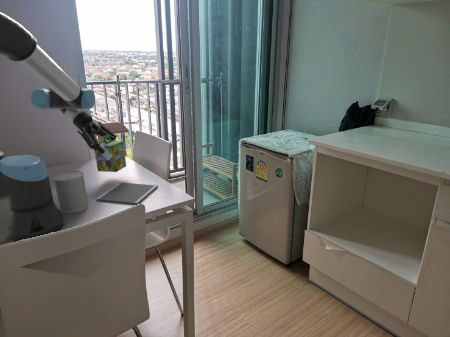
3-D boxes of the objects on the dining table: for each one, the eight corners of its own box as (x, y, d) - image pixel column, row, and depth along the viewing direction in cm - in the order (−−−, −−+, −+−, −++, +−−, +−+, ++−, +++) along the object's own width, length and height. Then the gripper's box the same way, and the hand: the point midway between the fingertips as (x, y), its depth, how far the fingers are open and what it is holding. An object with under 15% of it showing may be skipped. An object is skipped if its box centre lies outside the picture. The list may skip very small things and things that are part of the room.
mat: (137, 205, 118) (137, 202, 118) (96, 200, 122) (96, 198, 122) (157, 187, 134) (157, 185, 133) (120, 184, 138) (120, 182, 137)
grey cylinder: (54, 211, 115) (47, 178, 111) (74, 200, 123) (69, 169, 119) (74, 215, 111) (68, 182, 107) (94, 203, 120) (89, 172, 116)
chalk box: (116, 172, 135) (112, 138, 131) (96, 171, 137) (91, 137, 132) (127, 166, 144) (123, 133, 139) (108, 165, 146) (104, 132, 141)
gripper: (91, 118, 148) (126, 153, 149) (56, 127, 128) (97, 168, 129) (99, 106, 145) (135, 143, 146) (65, 114, 125) (107, 156, 126)
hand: (117, 155), depth 138 cm, fingers closed on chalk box, 9 cm apart
